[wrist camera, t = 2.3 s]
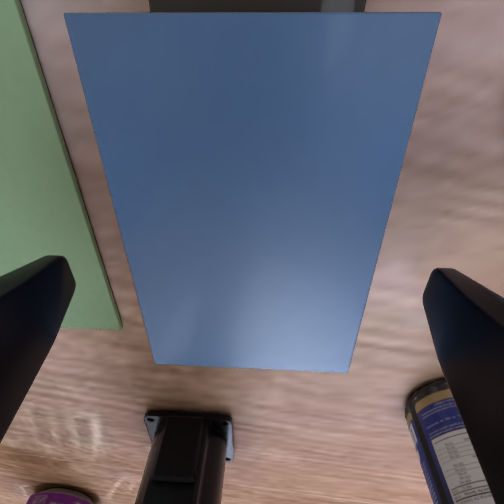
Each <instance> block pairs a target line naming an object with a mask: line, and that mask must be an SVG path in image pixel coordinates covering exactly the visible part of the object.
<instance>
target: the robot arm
mask: <svg viewBox="0 0 504 504" xmlns="http://www.w3.org/2000/svg"><path fill="white" fill-rule="evenodd" d="M75 288H76V282H75V278H74V276H73V273H72V271H71V268H70V265H69V263H68V260H67V259H66V258H65V257H64V256H60V255H46V256H44V257H41V258H39V259H37V260H35V261H33V262H31V263H28V264H26V265H24V266H22V267H20V268H17V269H15V270H13V271H11V272H9V273H6V274H4V275H2V276H0V443H1V441H2V439H3V437H4V435H5V433H6V431H7V430H8V428H9V426H10V424H11V422H12V420H13V418H14V417H15V415H16V413H17V411H18V409H19V407H20V405H21V403H22V402H23V400H24V398H25V396H26V394H27V392H28V390H29V388H30V387H31V385H32V383H33V381H34V379H35V377H36V375H37V374H38V372H39V370H40V368H41V366H42V364H43V362H44V360H45V359H46V357H47V355H48V353H49V351H50V349H51V347H52V345H53V343H54V341H55V339H56V336H57V334H58V332H59V329H60V327H61V324H62V322H63V319H64V317H65V314H66V312H67V309H68V307H69V304H70V302H71V299H72V297H73V295H74V292H75ZM423 305H424V309H425V313H426V316H427V320H428V324H429V328H430V331H431V335H432V339H433V343H434V346H435V350H436V353H437V357H438V360H439V363H440V365H441V368H442V371H443V373H444V376H445V378H446V381H447V383H448V386H449V388H450V391H451V393H452V396H453V399H454V401H455V404H456V406H457V409H458V411H459V414H460V416H461V419H462V421H463V424H464V426H465V429H466V431H467V434H468V436H469V439H470V441H471V444H472V446H473V449H474V452H475V454H476V457H477V459H478V462H479V464H480V467H481V469H482V472H483V474H484V477H485V479H486V482H487V484H488V487H489V489H490V492H491V494H492V497H493V499H494V502H495V504H504V298H503V297H501V296H499V295H498V294H496V293H494V292H493V291H491V290H489V289H488V288H486V287H484V286H482V285H481V284H479V283H477V282H476V281H474V280H472V279H470V278H469V277H467V276H465V275H464V274H462V273H460V272H459V271H457V270H455V269H452V268H436V269H434V270H433V271H432V273H431V275H430V277H429V280H428V283H427V285H426V288H425V291H424V293H423ZM144 421H145V424H146V427H147V430H148V433H149V436H150V439H151V442H152V446H151V450H150V453H149V456H148V460H147V463H146V467H145V470H144V474H143V477H142V481H141V484H140V488H139V491H138V495H137V498H136V502H135V504H221V497H222V488H223V479H224V470H225V462H232V461H233V460H234V443H233V427H232V418H231V417H230V416H228V415H219V414H200V413H181V412H163V411H147V412H146V413H145V416H144Z"/></svg>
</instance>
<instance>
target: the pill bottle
mask: <svg viewBox="0 0 504 504" xmlns="http://www.w3.org/2000/svg"><path fill="white" fill-rule="evenodd" d="M405 418H406V420H407V424H408V428H409V431H410V434H411V436H412V439H413V442H414V446H415V449H416V452H417V455H418V458H419V461H420V464H421V467H422V470H423V473H424V476H425V479H426V482H427V485H428V488H429V491H430V494H431V497H432V500H433V503H434V504H495V502H494V499H493V497H492V494H491V492H490V489H489V487H488V484H487V482H486V479H485V477H484V474H483V472H482V469H481V467H480V464H479V462H478V459H477V457H476V454H475V452H474V449H473V446H472V444H471V441H470V439H469V436H468V434H467V431H466V429H465V426H464V424H463V421H462V419H461V416H460V414H459V411H458V409H457V406H456V404H455V401H454V399H453V396H452V393H451V391H450V388H449V386H448V383H447V381H446V380H441V381H437V382H434V383H431V384H429V385H426V386H424V387H423V388H421V389H420V390H418V391H417V392H416V393H415V394H414V395H413V396H412V397H411V398H410V400H409V401H408V403H407V405H406V408H405Z"/></svg>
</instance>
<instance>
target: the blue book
mask: <svg viewBox="0 0 504 504" xmlns="http://www.w3.org/2000/svg"><path fill="white" fill-rule="evenodd" d="M64 18H65V22H66V25H67V29H68V33H69V37H70V41H71V45H72V48H73V52H74V56H75V60H76V64H77V68H78V71H79V75H80V79H81V83H82V87H83V91H84V94H85V98H86V102H87V106H88V110H89V114H90V117H91V121H92V125H93V129H94V133H95V137H96V140H97V144H98V148H99V152H100V156H101V160H102V163H103V167H104V171H105V175H106V179H107V182H108V186H109V190H110V194H111V198H112V202H113V205H114V209H115V213H116V217H117V221H118V225H119V228H120V232H121V236H122V240H123V244H124V248H125V251H126V255H127V259H128V263H129V267H130V271H131V274H132V278H133V282H134V286H135V290H136V294H137V297H138V301H139V305H140V309H141V313H142V317H143V320H144V324H145V328H146V332H147V336H148V340H149V343H150V347H151V351H152V355H153V359H154V363H155V364H166V365H187V366H208V367H230V368H251V369H272V370H294V371H315V372H336V373H348V370H349V366H350V363H351V359H352V355H353V351H354V347H355V343H356V340H357V336H358V332H359V328H360V324H361V320H362V317H363V313H364V309H365V305H366V301H367V297H368V294H369V290H370V286H371V282H372V278H373V274H374V271H375V267H376V263H377V259H378V255H379V251H380V248H381V244H382V240H383V236H384V232H385V228H386V225H387V221H388V217H389V213H390V209H391V205H392V202H393V198H394V194H395V190H396V186H397V182H398V179H399V175H400V171H401V167H402V163H403V159H404V156H405V152H406V148H407V144H408V140H409V136H410V133H411V129H412V125H413V121H414V117H415V113H416V110H417V106H418V102H419V98H420V94H421V90H422V87H423V83H424V79H425V75H426V71H427V67H428V64H429V60H430V56H431V52H432V48H433V45H434V41H435V37H436V33H437V29H438V25H439V22H440V18H441V12H200V13H64Z"/></svg>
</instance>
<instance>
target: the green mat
mask: <svg viewBox="0 0 504 504" xmlns="http://www.w3.org/2000/svg"><path fill="white" fill-rule="evenodd" d="M46 255H60V256H64V257H65V258H66V259H67V260H68V263H69V265H70V268H71V271H72V273H73V276H74V278H75V282H76V288H75V292H74V295H73V297H72V299H71V302H70V304H69V307H68V309H67V312H66V314H65V317H64V319H63V322H62V324H61V328H84V329H107V330H121V329H122V323H121V320H120V317H119V314H118V311H117V307H116V304H115V301H114V298H113V295H112V292H111V288H110V285H109V282H108V279H107V276H106V272H105V269H104V266H103V263H102V260H101V257H100V253H99V250H98V247H97V244H96V241H95V238H94V234H93V231H92V228H91V225H90V222H89V219H88V215H87V212H86V209H85V206H84V203H83V200H82V196H81V193H80V190H79V187H78V184H77V181H76V177H75V174H74V171H73V168H72V165H71V162H70V158H69V155H68V152H67V149H66V146H65V143H64V139H63V136H62V133H61V130H60V127H59V124H58V120H57V117H56V114H55V111H54V108H53V105H52V101H51V98H50V95H49V92H48V89H47V86H46V82H45V79H44V76H43V73H42V70H41V67H40V63H39V60H38V57H37V54H36V51H35V48H34V44H33V41H32V38H31V35H30V32H29V29H28V25H27V22H26V19H25V16H24V13H23V10H22V6H21V3H20V0H0V276H2V275H4V274H6V273H9V272H11V271H13V270H15V269H17V268H20V267H22V266H24V265H26V264H28V263H31V262H33V261H35V260H37V259H39V258H41V257H44V256H46Z"/></svg>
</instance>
